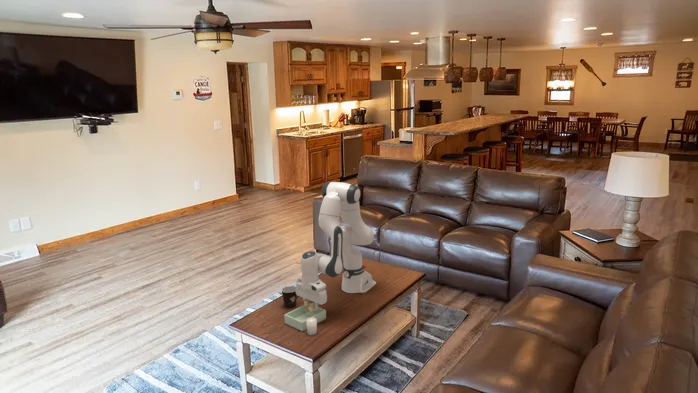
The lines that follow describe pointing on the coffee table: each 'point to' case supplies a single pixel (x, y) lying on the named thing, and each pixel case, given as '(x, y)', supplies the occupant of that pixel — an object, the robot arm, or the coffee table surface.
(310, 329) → the ceramic cylinder
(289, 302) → the coffee mug
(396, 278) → the coffee table surface
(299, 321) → the tray
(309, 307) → the beech cube
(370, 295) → the coffee table surface
